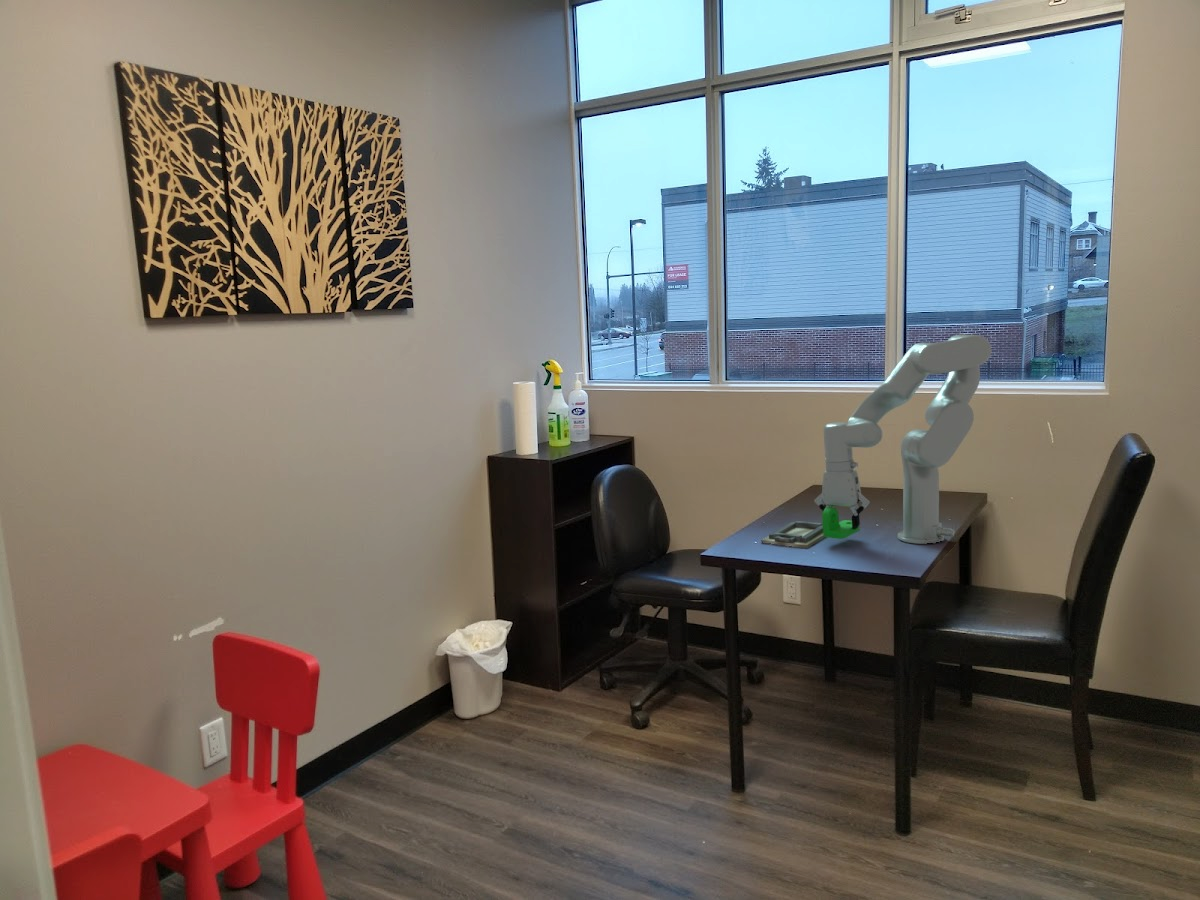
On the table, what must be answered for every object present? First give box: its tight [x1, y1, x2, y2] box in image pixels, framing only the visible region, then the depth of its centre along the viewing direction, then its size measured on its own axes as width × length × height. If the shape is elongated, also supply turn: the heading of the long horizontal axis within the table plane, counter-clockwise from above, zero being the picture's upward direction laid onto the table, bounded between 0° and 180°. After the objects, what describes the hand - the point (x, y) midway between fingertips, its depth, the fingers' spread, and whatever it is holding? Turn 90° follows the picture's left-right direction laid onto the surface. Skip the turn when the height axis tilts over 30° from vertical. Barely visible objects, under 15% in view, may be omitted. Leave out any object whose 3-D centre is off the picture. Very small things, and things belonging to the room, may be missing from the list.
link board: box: [760, 520, 826, 550], centre depth 256 cm, size 14×22×3 cm, turn 144°
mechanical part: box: [821, 506, 860, 540], centre depth 246 cm, size 12×6×8 cm, turn 135°
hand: (843, 527), depth 246 cm, fingers closed on mechanical part, 6 cm apart
